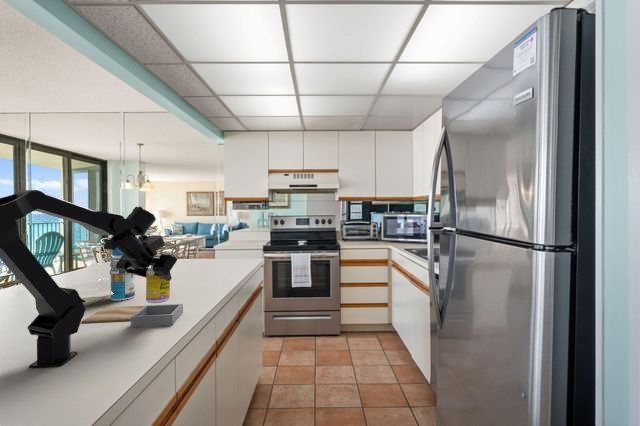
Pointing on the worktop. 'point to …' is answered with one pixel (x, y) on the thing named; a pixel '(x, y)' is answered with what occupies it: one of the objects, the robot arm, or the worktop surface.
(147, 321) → the bin
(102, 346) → the worktop surface
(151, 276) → the supplement bottle
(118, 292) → the beverage bottle
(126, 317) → the tan cardboard sheet
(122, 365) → the worktop surface
